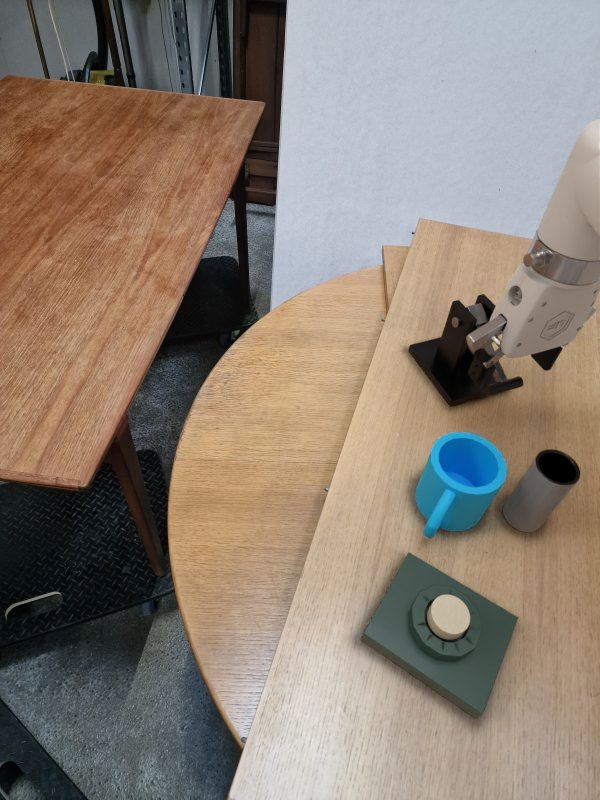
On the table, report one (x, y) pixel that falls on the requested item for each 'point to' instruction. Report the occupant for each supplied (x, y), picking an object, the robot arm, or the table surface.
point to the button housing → (432, 655)
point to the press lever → (499, 375)
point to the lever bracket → (453, 355)
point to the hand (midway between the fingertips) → (508, 372)
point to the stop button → (448, 617)
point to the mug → (459, 482)
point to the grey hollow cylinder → (541, 490)
